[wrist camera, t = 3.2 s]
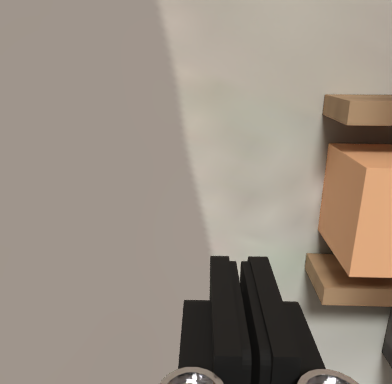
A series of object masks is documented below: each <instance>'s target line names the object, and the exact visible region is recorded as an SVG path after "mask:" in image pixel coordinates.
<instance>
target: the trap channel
mask: <svg viewBox="0 0 392 384" xmlns="http://www.w3.org/2000/svg"><path fill="white" fill-rule="evenodd" d="M323 115H325V116H327V117H329V118H331V119H334V120H336V121H338V122H340V123H343V124H345V125H365V126H392V95H325V99H324V108H323ZM305 269H306V272H307V274H308V276H309V278H310V280H311V282H312V284H313V287H314V289H315V291H316V293H317V295H318V297H319V299H320V302H321V304H322V305H344V306H385V307H391V312H390V317H389V321H388V326H387V331H386V335H385V340H384V345H383V350H382V353H383V354H384V356H385V358H386V359H387V361H388V363H389V364H390V366H391V368H392V278H378V277H349V276H348V275H347V273H346V272H345V270H344V269H343V267H342V265H341V264H340V262H339V261H338V259H337V258H336V256H335V255H334V254H312V253H307V256H306V264H305Z"/></svg>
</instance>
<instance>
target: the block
mask: <svg viewBox="0 0 392 384" xmlns="http://www.w3.org/2000/svg"><path fill="white" fill-rule="evenodd" d="M318 231H319V232H320V234H321V235H322V237H323V238H324V240H325V241H326V243H327V244H328V246H329V247H330V249H331V250H332V252H333V253H334V255H335V256H336V258H337V259H338V261H339V262H340V264H341V265H342V267H343V269H344V270H345V272H346V273H347V275H348V276H349V277H378V278H392V144H340V143H329V146H328V154H327V162H326V170H325V178H324V186H323V193H322V201H321V209H320V217H319V225H318Z"/></svg>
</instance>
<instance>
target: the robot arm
mask: <svg viewBox="0 0 392 384" xmlns="http://www.w3.org/2000/svg"><path fill="white" fill-rule="evenodd" d="M160 384H359V383H357V382H356V381H355V380H353V379H352V378H351V377H349V376H347V375H344V374H342V373H340V372H337V371H333V370H329V369H326V368H325V366H324V363H323V361H322V358H321V356H320V353H319V351H318V349H317V346H316V344H315V341H314V339H313V336H312V334H311V331H310V329H309V326H308V324H307V322H306V319H305V317H304V314H303V312H302V309H301V307H300V305H299V303H298V302H286V301H282V298H281V295H280V292H279V289H278V286H277V283H276V280H275V277H274V274H273V271H272V269H271V266H270V263H269V260H268V257H248V261H241V272H240V281H239V276H238V270H237V264H236V261H229V256H211V257H210V300H208V301H207V300H184V307H183V319H182V331H181V343H180V354H179V366H178V369H177V370H175V371H173V372H171V373H169V374H168V375H167V376H166V377H165V378H164V379H163V380H162V381H161V383H160Z"/></svg>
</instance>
